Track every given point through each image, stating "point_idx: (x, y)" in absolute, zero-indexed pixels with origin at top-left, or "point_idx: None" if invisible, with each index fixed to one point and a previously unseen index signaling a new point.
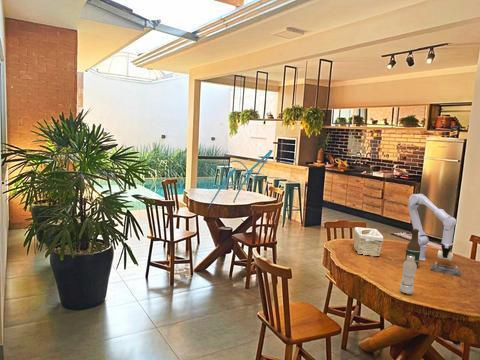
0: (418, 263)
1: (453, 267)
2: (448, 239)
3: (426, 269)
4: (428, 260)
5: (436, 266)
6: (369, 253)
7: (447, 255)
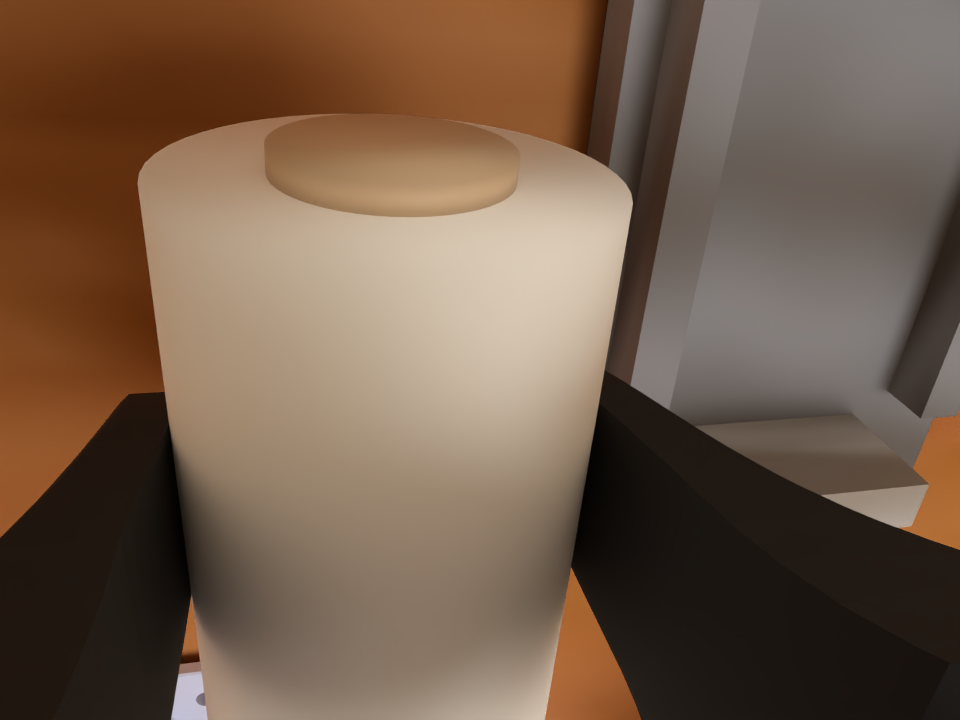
0: None
1: (755, 11)
2: None
3: None
4: None
5: (886, 446)
6: None
7: (677, 424)
